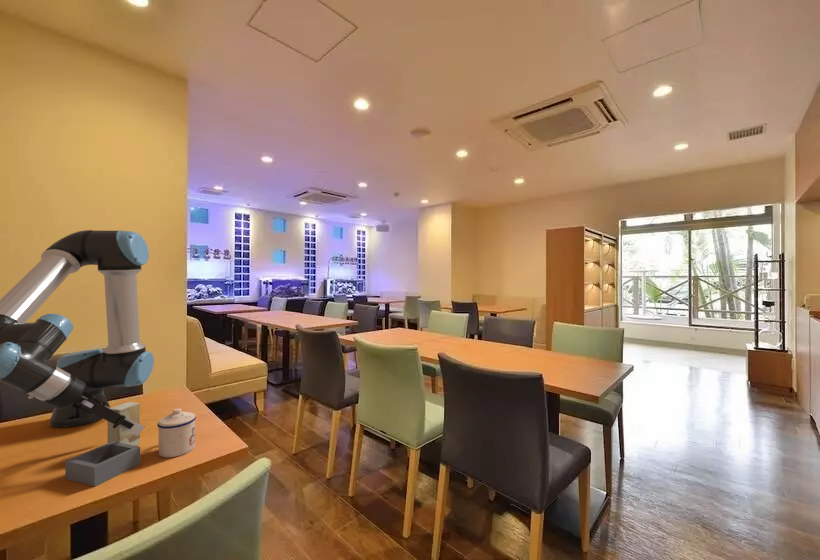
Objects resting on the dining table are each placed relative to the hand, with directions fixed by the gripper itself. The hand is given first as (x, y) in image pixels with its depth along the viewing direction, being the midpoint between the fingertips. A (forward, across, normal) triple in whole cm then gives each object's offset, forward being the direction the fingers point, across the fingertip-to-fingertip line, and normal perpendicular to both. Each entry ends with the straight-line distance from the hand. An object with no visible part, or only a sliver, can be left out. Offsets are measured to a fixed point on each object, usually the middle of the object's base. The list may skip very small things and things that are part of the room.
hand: (130, 425), depth 102 cm
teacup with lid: (+9, +13, 0) cm, 16 cm away
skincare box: (+3, 0, -5) cm, 6 cm away
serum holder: (-2, +10, -11) cm, 15 cm away
